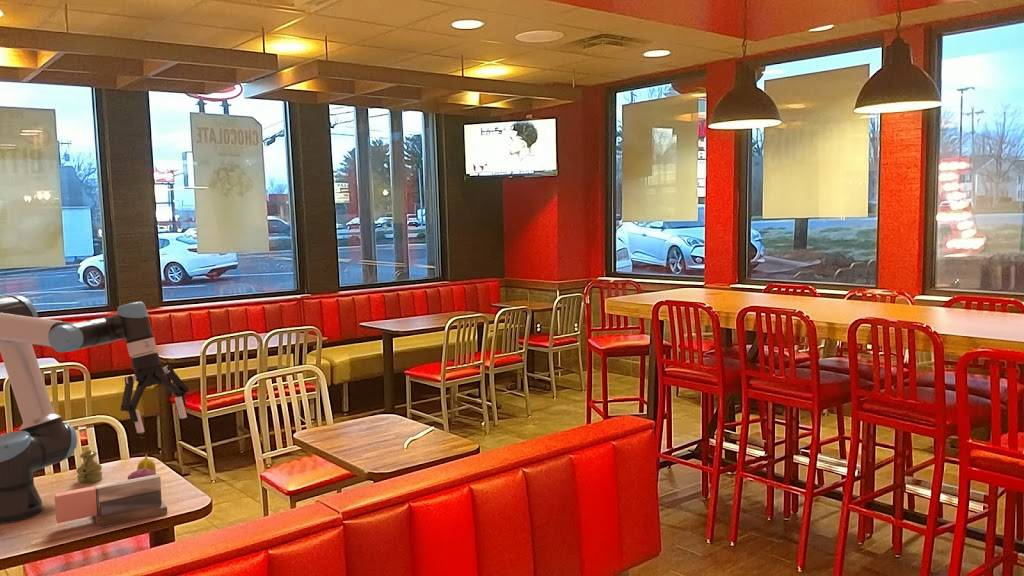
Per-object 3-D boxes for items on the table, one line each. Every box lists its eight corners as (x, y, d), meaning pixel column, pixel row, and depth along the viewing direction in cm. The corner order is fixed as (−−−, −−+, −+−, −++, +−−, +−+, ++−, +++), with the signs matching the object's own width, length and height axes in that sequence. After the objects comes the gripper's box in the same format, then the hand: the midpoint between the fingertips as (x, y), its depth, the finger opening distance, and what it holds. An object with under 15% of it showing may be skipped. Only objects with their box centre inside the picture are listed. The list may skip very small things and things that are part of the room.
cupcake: (146, 485, 262) (144, 449, 260) (163, 489, 257) (161, 453, 256) (122, 493, 254) (120, 456, 253) (139, 498, 250) (136, 460, 249)
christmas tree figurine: (107, 477, 270) (105, 448, 268) (91, 484, 262) (89, 455, 261) (88, 475, 271) (86, 446, 270) (72, 483, 264) (70, 453, 263)
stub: (56, 519, 227) (54, 493, 227) (95, 511, 233) (93, 486, 232) (57, 523, 225) (55, 496, 224) (97, 515, 231) (95, 489, 230)
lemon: (144, 478, 268) (142, 455, 267) (159, 479, 267) (158, 455, 266) (134, 484, 263) (132, 460, 262) (150, 485, 262) (148, 461, 261)
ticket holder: (92, 514, 237) (90, 481, 236) (158, 501, 247) (156, 469, 246) (99, 528, 227) (97, 493, 226) (167, 513, 238) (165, 480, 237)
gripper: (109, 363, 223) (128, 437, 224) (189, 343, 243) (207, 411, 244) (95, 366, 227) (115, 439, 228) (175, 346, 247) (193, 413, 248)
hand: (162, 425), depth 236 cm, fingers open, 13 cm apart
